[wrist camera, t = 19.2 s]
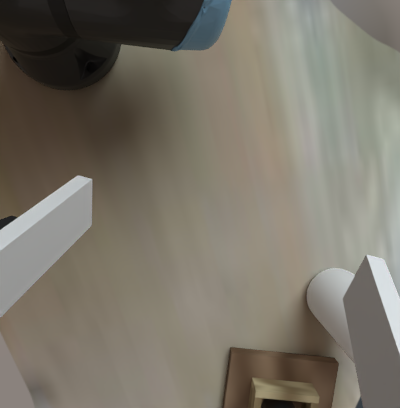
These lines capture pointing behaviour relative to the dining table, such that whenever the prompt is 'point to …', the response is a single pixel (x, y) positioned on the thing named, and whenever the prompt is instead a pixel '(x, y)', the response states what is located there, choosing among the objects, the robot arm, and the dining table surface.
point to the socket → (279, 379)
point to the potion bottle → (331, 304)
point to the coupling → (277, 403)
